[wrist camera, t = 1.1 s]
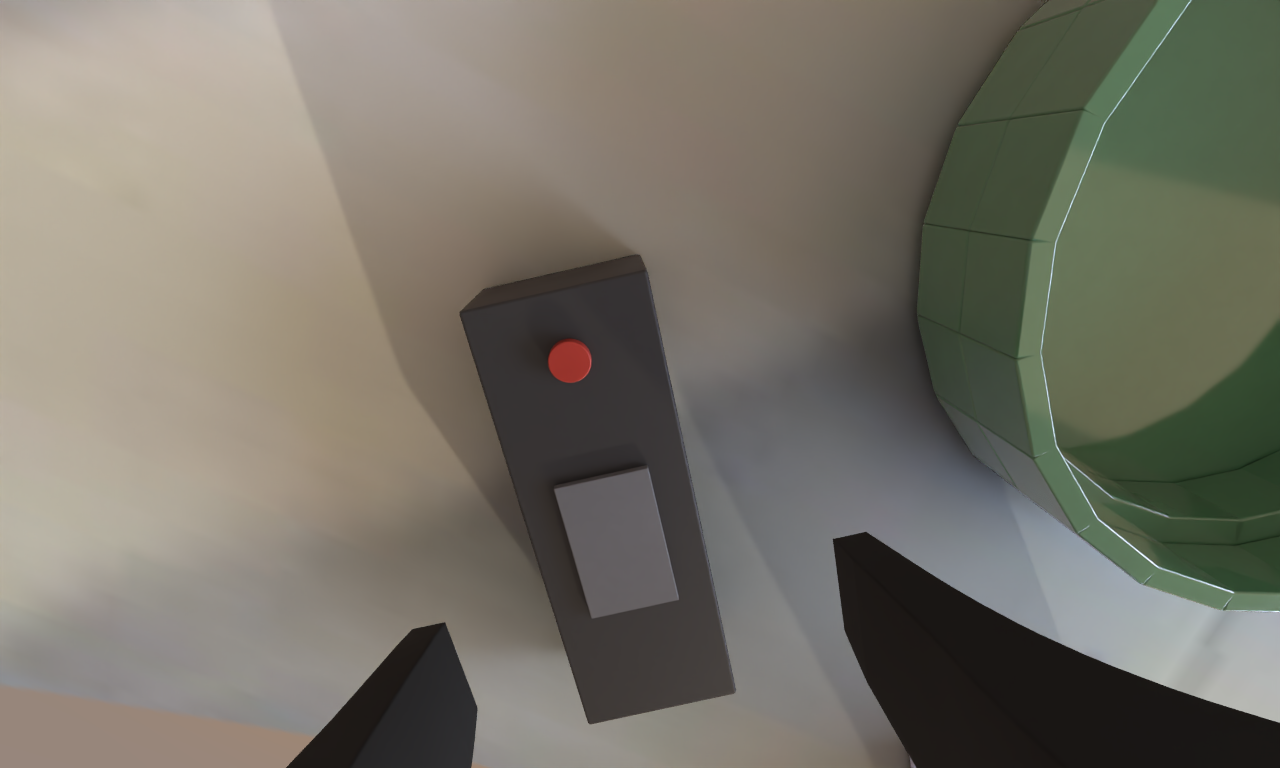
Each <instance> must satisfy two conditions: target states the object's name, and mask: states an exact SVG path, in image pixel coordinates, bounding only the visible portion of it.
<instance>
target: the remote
mask: <svg viewBox="0 0 1280 768" xmlns="http://www.w3.org/2000/svg"><path fill="white" fill-rule="evenodd" d="M460 317H461V321H462V324H463V327H464V330H465V333H466V336H467V340H468V343H469V346H470V349H471V352H472V356H473V359H474V362H475V365H476V368H477V371H478V375H479V378H480V381H481V384H482V387H483V390H484V394H485V397H486V400H487V403H488V406H489V409H490V413H491V416H492V419H493V422H494V425H495V429H496V432H497V435H498V438H499V441H500V444H501V448H502V451H503V454H504V457H505V460H506V463H507V467H508V470H509V473H510V476H511V479H512V483H513V486H514V489H515V492H516V495H517V498H518V502H519V505H520V508H521V511H522V514H523V517H524V521H525V524H526V527H527V530H528V533H529V536H530V540H531V543H532V546H533V549H534V552H535V556H536V559H537V562H538V565H539V568H540V571H541V575H542V578H543V581H544V584H545V587H546V590H547V594H548V597H549V600H550V603H551V606H552V610H553V613H554V616H555V619H556V622H557V625H558V629H559V632H560V635H561V638H562V641H563V644H564V648H565V651H566V654H567V657H568V660H569V663H570V667H571V670H572V673H573V676H574V679H575V683H576V686H577V689H578V692H579V695H580V698H581V702H582V705H583V708H584V711H585V714H586V717H587V721H588V723H589V724H594V723H599V722H604V721H608V720H613V719H618V718H622V717H627V716H632V715H636V714H641V713H646V712H650V711H655V710H660V709H664V708H669V707H674V706H678V705H683V704H688V703H692V702H697V701H701V700H706V699H711V698H715V697H720V696H725V695H729V694H734V693H735V692H736V688H735V683H734V678H733V674H732V669H731V664H730V659H729V655H728V650H727V645H726V640H725V636H724V631H723V626H722V622H721V617H720V612H719V607H718V603H717V598H716V593H715V589H714V584H713V579H712V574H711V570H710V565H709V560H708V555H707V551H706V546H705V541H704V537H703V532H702V527H701V522H700V518H699V513H698V508H697V503H696V499H695V494H694V489H693V485H692V480H691V475H690V470H689V466H688V461H687V456H686V451H685V447H684V442H683V437H682V433H681V428H680V423H679V418H678V414H677V409H676V404H675V399H674V395H673V390H672V385H671V381H670V376H669V371H668V366H667V362H666V357H665V352H664V347H663V343H662V338H661V333H660V329H659V324H658V319H657V314H656V310H655V305H654V300H653V295H652V291H651V286H650V281H649V277H648V272H647V270H646V268H645V265H644V263H643V261H642V259H641V257H640V255H638V254H637V255H632V256H628V257H623V258H619V259H615V260H610V261H606V262H601V263H597V264H593V265H588V266H584V267H579V268H575V269H570V270H566V271H562V272H557V273H553V274H548V275H544V276H540V277H535V278H531V279H526V280H522V281H517V282H513V283H509V284H504V285H500V286H495V287H491V288H487V289H483V290H482V291H481V292H480V293H479V294H478V295H477V296H476V297H475V298H474V299H473V300H472V301H471V302H470V303H469V304H468V305H467V306H466V307H465V308H464V309H463V310H461V311H460Z"/></svg>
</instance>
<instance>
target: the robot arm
mask: <svg viewBox="0 0 1280 768" xmlns="http://www.w3.org/2000/svg"><path fill="white" fill-rule="evenodd" d="M833 544H834V552H835V559H836V567H837V575H838V583H839V590H840V598H841V606H842V614H843V621H844V629H845V632H846V635H847V637H848V639H849V642H850V644H851V646H852V649H853V651H854V653H855V656H856V658H857V660H858V663H859V665H860V667H861V669H862V672H863V674H864V676H865V678H866V681H867V683H868V685H869V686H870V688H871V690H872V692H873V694H874V695H875V697H876V699H877V701H878V702H879V704H880V706H881V708H882V709H883V711H884V713H885V715H886V716H887V718H888V720H889V722H890V723H891V725H892V727H893V728H894V730H895V732H896V734H897V735H898V737H899V739H900V741H901V742H902V744H903V746H904V747H905V749H906V751H907V753H908V754H909V756H910V764H911V768H1280V723H1278V722H1275V721H1271V720H1268V719H1265V718H1261V717H1258V716H1255V715H1252V714H1249V713H1245V712H1242V711H1239V710H1236V709H1232V708H1229V707H1226V706H1223V705H1219V704H1216V703H1213V702H1210V701H1207V700H1204V699H1201V698H1198V697H1195V696H1192V695H1189V694H1186V693H1183V692H1180V691H1177V690H1174V689H1172V688H1169V687H1166V686H1163V685H1161V684H1158V683H1155V682H1153V681H1150V680H1147V679H1145V678H1142V677H1139V676H1137V675H1134V674H1131V673H1129V672H1126V671H1123V670H1121V669H1118V668H1116V667H1113V666H1111V665H1108V664H1106V663H1103V662H1101V661H1098V660H1096V659H1094V658H1091V657H1089V656H1086V655H1084V654H1082V653H1080V652H1078V651H1075V650H1073V649H1071V648H1069V647H1066V646H1064V645H1062V644H1060V643H1058V642H1055V641H1053V640H1051V639H1049V638H1047V637H1044V636H1042V635H1040V634H1038V633H1036V632H1034V631H1032V630H1030V629H1028V628H1026V627H1024V626H1022V625H1020V624H1018V623H1016V622H1014V621H1012V620H1010V619H1008V618H1007V617H1005V616H1003V615H1001V614H999V613H997V612H995V611H993V610H992V609H990V608H988V607H986V606H984V605H982V604H980V603H979V602H977V601H975V600H973V599H972V598H970V597H968V596H966V595H965V594H963V593H961V592H960V591H958V590H956V589H955V588H953V587H951V586H950V585H948V584H946V583H945V582H943V581H941V580H940V579H938V578H936V577H935V576H933V575H932V574H930V573H928V572H927V571H925V570H924V569H922V568H921V567H919V566H918V565H916V564H914V563H913V562H911V561H910V560H908V559H907V558H905V557H904V556H902V555H901V554H899V553H898V552H896V551H895V550H893V549H891V548H890V547H888V546H887V545H885V544H884V543H882V542H881V541H879V540H878V539H876V538H875V537H873V536H872V535H870V534H869V533H867V532H864V533H859V534H854V535H850V536H845V537H840V538H836V539H833ZM477 709H478V708H477V705H476V703H475V700H474V697H473V695H472V692H471V689H470V687H469V684H468V682H467V679H466V676H465V674H464V671H463V668H462V666H461V663H460V660H459V658H458V655H457V653H456V650H455V647H454V645H453V642H452V639H451V637H450V634H449V631H448V629H447V626H446V624H445V622H444V623H439V624H435V625H430V626H425V627H421V628H416V629H412V630H411V631H410V632H409V633H408V635H407V636H406V637H405V638H404V639H403V640H402V641H401V642H400V643H399V644H398V645H397V646H396V647H395V648H394V650H393V651H392V652H391V653H390V654H389V655H388V656H387V658H386V659H385V660H384V661H383V662H382V663H381V664H380V666H379V667H378V668H377V669H376V670H375V671H374V672H373V674H372V675H371V676H370V677H369V678H368V679H367V680H366V682H365V683H364V684H363V685H362V686H361V687H360V688H359V689H358V691H357V692H356V693H355V694H354V695H353V696H352V697H351V698H350V700H349V701H348V702H347V703H346V704H345V705H344V706H343V707H342V709H341V710H340V711H339V712H338V713H337V714H336V715H335V717H334V718H333V719H332V720H331V721H330V722H329V723H328V724H327V725H326V726H325V727H324V728H323V729H322V730H321V732H320V733H319V734H318V735H317V736H316V737H315V738H314V739H313V740H312V741H311V742H310V743H309V744H308V745H307V746H306V747H305V748H304V749H303V750H302V752H301V753H300V754H299V755H298V756H297V757H296V758H295V759H294V760H293V761H292V762H291V763H290V764H289V765H288V766H287V767H286V768H471V765H472V757H473V749H474V741H475V731H476V720H477Z"/></svg>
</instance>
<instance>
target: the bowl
mask: <svg viewBox="0 0 1280 768" xmlns="http://www.w3.org/2000/svg"><path fill="white" fill-rule="evenodd" d="M924 223H925V224H924V225H923V229H922V243H921V257H920V271H919V286H918V300H917V315H918V316H917V319H918V324H919V328H920V332H921V337H922V341H923V345H924V350H925V354H926V358H927V363H928V367H929V371H930V376H931V380H932V385H933V389H934V392H935V393H936V397H937V398H938V400H939V401H940V403H941V405H942V406H943V408H944V409H945V411H946V413H947V414H948V416H949V417H950V419H951V421H952V422H953V424H954V425H955V427H956V429H957V430H958V432H959V434H960V435H961V437H962V438H963V440H964V442H965V443H966V445H967V446H968V448H969V450H970V451H971V453H972V454H973V455H974V457H976V458H977V459H978V460H980V461H981V462H982V463H983V464H985V465H986V466H987V467H989V468H990V469H991V470H992V471H994V472H995V473H996V474H998V475H999V476H1000V477H1001V478H1003V479H1004V480H1005V481H1006V482H1008V483H1009V484H1010V485H1012V486H1013V487H1014V488H1015V489H1017V490H1018V491H1019V492H1021V493H1022V494H1023V495H1024V496H1026V497H1027V498H1028V499H1030V500H1031V501H1032V502H1033V503H1035V504H1036V505H1037V506H1039V507H1040V508H1041V509H1043V510H1044V511H1045V512H1047V513H1048V514H1049V515H1051V516H1052V517H1053V518H1054V519H1056V520H1057V521H1058V522H1060V523H1061V524H1062V525H1064V526H1065V527H1066V528H1068V529H1069V530H1070V531H1071V532H1073V533H1074V534H1075V535H1077V536H1078V537H1079V538H1081V539H1082V540H1083V541H1084V542H1086V543H1087V544H1088V545H1090V546H1091V547H1092V548H1094V549H1095V550H1096V551H1098V552H1099V553H1100V554H1101V555H1103V556H1104V557H1105V558H1107V559H1108V560H1109V561H1111V562H1112V563H1113V564H1115V565H1116V566H1117V567H1119V568H1120V569H1121V570H1122V571H1124V572H1125V573H1126V574H1128V575H1129V576H1130V577H1132V578H1133V579H1134V580H1136V581H1137V582H1138V583H1140V584H1142V585H1145V586H1148V587H1151V588H1154V589H1157V590H1160V591H1163V592H1166V593H1169V594H1172V595H1175V596H1178V597H1181V598H1184V599H1187V600H1190V601H1193V602H1196V603H1199V604H1202V605H1205V606H1208V607H1211V608H1214V609H1218V610H1223V611H1240V612H1278V613H1280V0H1048V1H1047V2H1046V3H1045V4H1044V5H1043V6H1042V7H1041V8H1040V9H1039V10H1038V11H1037V12H1036V13H1035V14H1034V15H1033V16H1032V17H1031V18H1029V19H1028V20H1027V21H1026V22H1025V23H1024V24H1023V25H1022V26H1021V27H1020V29H1019V31H1017V32H1016V34H1015V35H1014V37H1013V38H1012V40H1011V41H1010V43H1009V45H1008V46H1007V48H1006V49H1005V51H1004V52H1003V54H1002V55H1001V57H1000V59H999V60H998V62H997V63H996V65H995V66H994V68H993V70H992V71H991V73H990V74H989V76H988V77H987V79H986V80H985V82H984V84H983V85H982V87H981V88H980V90H979V91H978V93H977V94H976V96H975V98H974V99H973V101H972V102H971V104H970V105H969V107H968V108H967V110H966V112H965V113H964V115H963V116H962V118H961V119H960V121H959V123H958V126H957V127H956V129H955V132H954V134H953V137H952V140H951V143H950V146H949V149H948V152H947V155H946V158H945V161H944V164H943V166H942V169H941V172H940V175H939V178H938V181H937V184H936V187H935V190H934V193H933V196H932V198H931V201H930V204H929V207H928V210H927V213H926V216H925V219H924Z"/></svg>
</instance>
